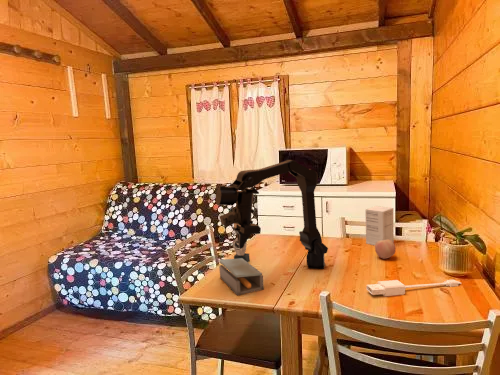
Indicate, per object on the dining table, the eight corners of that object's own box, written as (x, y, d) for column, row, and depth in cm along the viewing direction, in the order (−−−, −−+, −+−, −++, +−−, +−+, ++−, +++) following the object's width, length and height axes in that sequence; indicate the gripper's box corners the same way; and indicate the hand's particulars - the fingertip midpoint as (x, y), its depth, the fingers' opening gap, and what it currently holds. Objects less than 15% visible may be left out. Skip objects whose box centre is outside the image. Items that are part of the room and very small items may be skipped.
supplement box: (376, 239, 176) (376, 205, 174) (394, 242, 169) (394, 207, 166) (365, 243, 170) (364, 208, 168) (383, 247, 163) (383, 211, 160)
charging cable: (464, 290, 119) (465, 280, 118) (373, 298, 114) (373, 288, 114) (454, 284, 124) (454, 275, 123) (365, 291, 119) (366, 281, 119)
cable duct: (244, 272, 142) (243, 260, 141) (263, 289, 126) (262, 275, 125) (220, 278, 138) (219, 265, 137) (237, 295, 122) (236, 281, 121)
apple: (392, 255, 153) (392, 236, 151) (398, 261, 145) (397, 242, 144) (373, 255, 153) (373, 237, 152) (377, 261, 146) (377, 242, 145)
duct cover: (242, 260, 141) (242, 258, 141) (261, 275, 125) (261, 273, 125) (219, 261, 137) (219, 259, 137) (236, 277, 121) (236, 275, 121)
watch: (232, 264, 152) (230, 239, 151) (239, 258, 160) (237, 234, 158) (244, 265, 150) (243, 240, 149) (251, 259, 158) (249, 234, 156)
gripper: (215, 201, 134) (211, 242, 136) (232, 209, 117) (228, 256, 119) (242, 202, 139) (239, 241, 140) (263, 210, 122) (259, 254, 123)
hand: (240, 248), depth 130 cm, fingers closed
